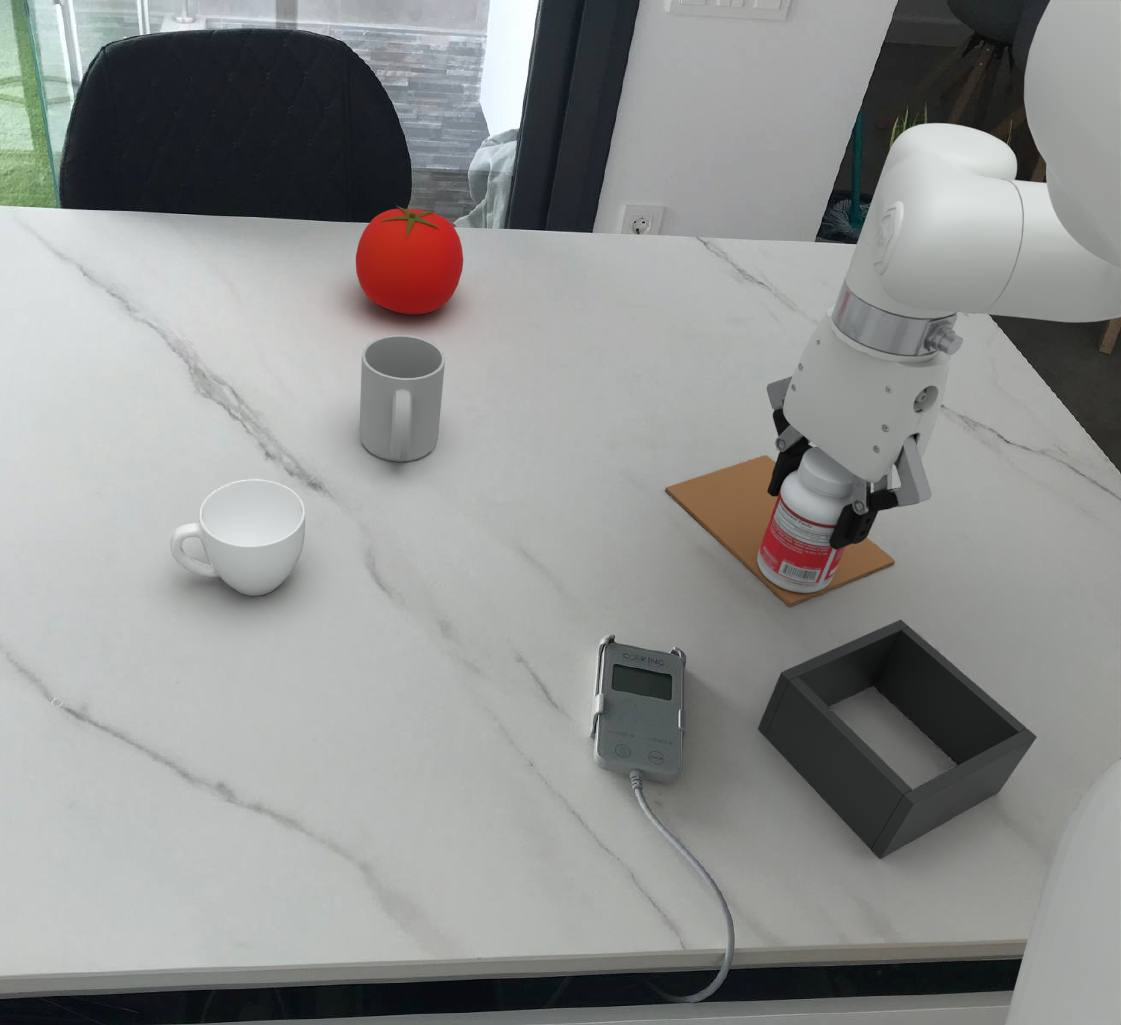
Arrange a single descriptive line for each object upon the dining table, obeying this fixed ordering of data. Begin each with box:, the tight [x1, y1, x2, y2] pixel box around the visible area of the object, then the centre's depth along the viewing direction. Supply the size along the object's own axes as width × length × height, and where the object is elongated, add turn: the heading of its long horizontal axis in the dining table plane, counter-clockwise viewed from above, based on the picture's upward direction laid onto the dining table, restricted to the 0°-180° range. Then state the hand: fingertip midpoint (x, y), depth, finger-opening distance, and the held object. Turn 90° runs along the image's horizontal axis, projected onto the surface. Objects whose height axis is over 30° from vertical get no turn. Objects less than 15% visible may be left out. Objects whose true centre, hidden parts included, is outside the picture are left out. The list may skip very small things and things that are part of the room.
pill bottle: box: [757, 446, 853, 593], centre depth 85 cm, size 6×6×11 cm
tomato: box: [355, 205, 464, 315], centre depth 115 cm, size 11×12×10 cm
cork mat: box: [664, 454, 896, 607], centre depth 93 cm, size 16×12×1 cm
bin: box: [757, 619, 1038, 860], centre depth 73 cm, size 12×12×6 cm
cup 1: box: [170, 478, 306, 597], centre depth 82 cm, size 8×10×7 cm
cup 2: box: [358, 334, 446, 463], centre depth 95 cm, size 7×10×9 cm
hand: (814, 514), depth 85 cm, fingers closed on pill bottle, 6 cm apart
